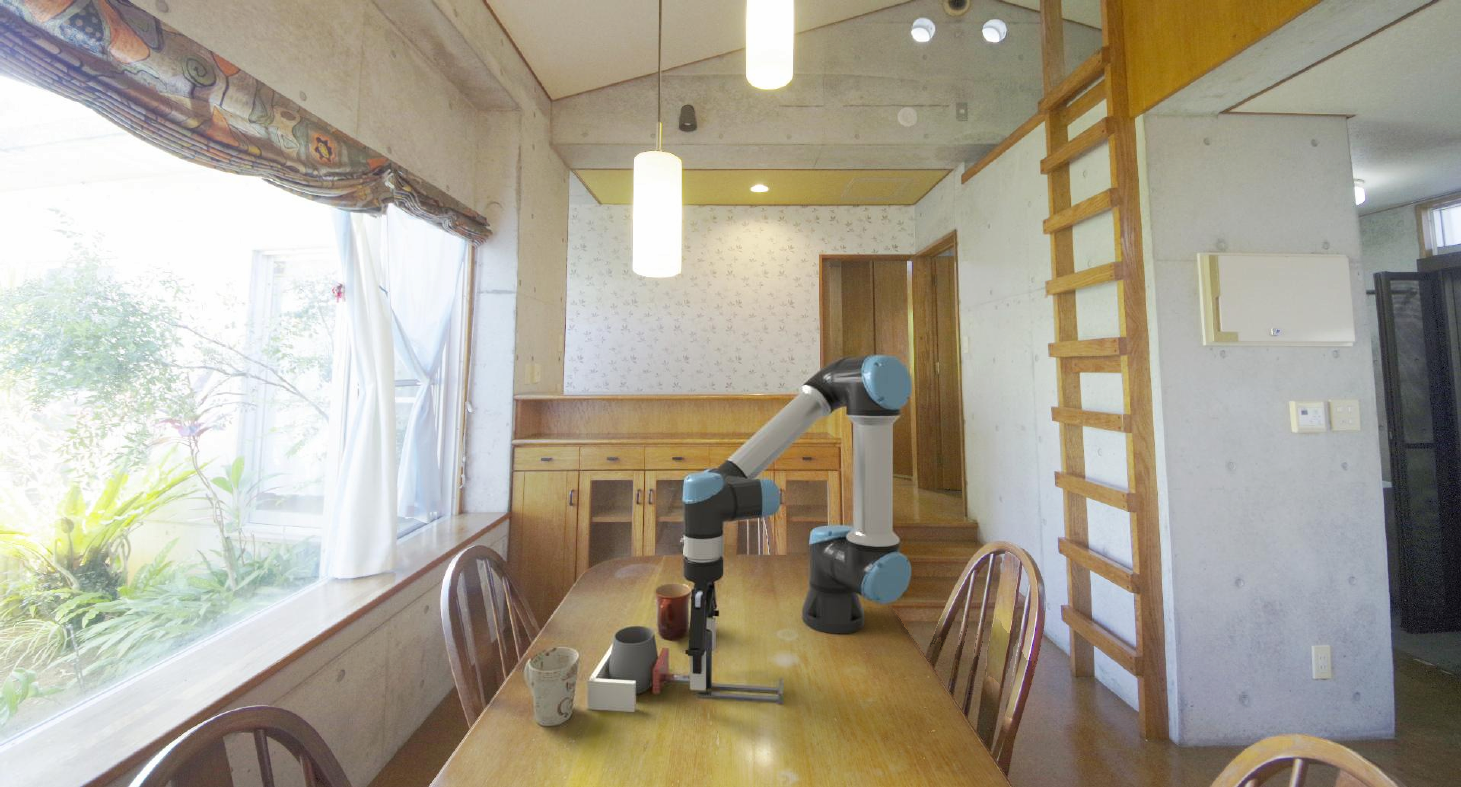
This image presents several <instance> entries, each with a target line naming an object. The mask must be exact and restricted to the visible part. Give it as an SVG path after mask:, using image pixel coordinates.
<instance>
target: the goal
mask: <svg viewBox="0 0 1461 787" xmlns="http://www.w3.org/2000/svg"><path fill="white" fill-rule="evenodd" d="M612 645H613V643H612V644H610V647H609V648H608V650H607V652H605V654H604V656H603V658H602V659H601V661H600V662H599V663H598V665H597V666H596V668H595V669H594V670H593V672H592V674H591V675H590V677H589V679H588V680H587V709H588V710H597V711H614V712H626V713H627V712H628V713H635V711H636V710H637V694H636V681H631V680H615V679H612V678H611V676H610V672H609V663H610V657H611V651H612Z"/></svg>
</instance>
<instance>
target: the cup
mask: <svg viewBox="0 0 1461 787" xmlns="http://www.w3.org/2000/svg"><path fill="white" fill-rule="evenodd" d="M612 644H613V645H612ZM612 644H611V645H612V651H611V657H610V663H609V672H610V676H611V679H615V680H631V681H636V695H639V694H642V693H644V692H645V691H647V690H648V689H649V688H650V687H651V686H652V685H653V668H654V666H655V663H656V661H657V659H658V657H659V654H658V648H657V642H656V635H655V632H654V630H653V629H652V628H650V627H647V626H642V625H631V626H627V627H624V628H621V629H619V630H618V631H616V632H615V633H614V636H613V640H612Z"/></svg>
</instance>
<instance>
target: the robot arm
mask: <svg viewBox="0 0 1461 787" xmlns="http://www.w3.org/2000/svg"><path fill="white" fill-rule="evenodd" d="M912 383H913V382H912V379H911V374H910V372H909V370H908V368H907V367H906V365H904V364H903V362H902V361H901V360H900V359H898V358H896V356H892V355H884V354H873V355H872V354H871V355H866V356H865V355H864V356H854V357H842V358H839V359H836V360H833V361H832V362H829V364H827V365H825V366H824V367H822V368H821V369H820V370H818V371H817V372H816V373H815V374H813V375H812V376H811V377H810V378H809V379H807V381H806V382H804V383H803V384H802V385H801V386H800V387H799V389H798V394H797V395H796V396H795V397H793V399H792V400H791V401H790V402H789V403H788V404H786V406H784V407H783V408H782V409H781V410H780V411H779V412H778V413H776V414H775V415H774V416H773V417H772V418H771V419H770V420H769V421H768V422H766V423H765V424H764V425H763V426H762V427H761V428H760V429H759V430H758V431H757V432H756V433H754V434H753V435H752V436H751V437H750V438H749V439H748V440H747V441H745V443H744V444H742V445H741V446H740V447H739V448H738V449H736V451H735V452H734V453H732V455H730V456H729V457H728V458H727V459H726V460H725V461H723V462H722V464H720V465H719V466H718V467H716V468H715V467H713V468H708V469H705V470H703V472H701V471H700V472H693V473H689V474H688V475H687V476H685V478H684V480H683V487H682V489H683V490H682V499H681V501H682V512H683V514H682V516H683V519H682V520H683V531H682V532H683V537H681V538H680V543H681V544H683V556H684V558H683V562H682V564H683V565H682V566H683V571H682V572H683V577H684V579H685V580H686V581H688V582H692V583H693V588H692V593H691V596H690V614H689V629H688V632H689V634H688V646H687V647H688V648H687V649H685V655H687V656H688V657H689V675H690V684H689V689H690V690H691V691H707V690H706V651H705V639H706V629H709V630H711V631H712V652H716V649H717V648H716V647H717V646H716V645H717V644H716V641H717V639H716V636H717V634H716V632H717V631H716V629H717V627H716V618H717V617H719V616H720V610H718V609H717V608H718V605H717V595H716V582H717V581H719V580H721V579H722V578H723V576H724V558H723V555H724V553H725V552H724V550H725V549H724V548H725V546H724V541H725V540H724V537H725V536H724V523H729V522H730V523H731V522H736V521H744V520H746V521H747V520H754V519H763V518H767V517H770V516H774V515H775V514H776V513H778V512H779V509H780V505H781V494H780V493H781V492H780V489H779V487H778V485H777V483H776V482H775V481H774V480H773V479H772V478H771V479H770V478H760V477H759V476H760V475H762V473H763V472H764V471H765V470H766V469H767V468H769V467H770V466H771V465H772V464H773V463H774V462H775V461H776V460H777V459H779V458H780V456H781V455H782V454H783V453H785V452H786V451H787V449H789V448H790V447H791V446H792V445H793V444H794V443H795V442H797V440H798V439H799V438H800V437H801V436H803V435H804V434H805V433H806V432H807V431H808V430H809V429H810V428H811V427H812V426H813V425H814V424H815V423H816V422H818V420H820V419H821V418H828V417H829V416H830V415H831V414H832V413H833V412H835V411H836V410H839V409H841V408H846V409H845V414H846V417H847V418H848V419H849V421H851V423H852V427H853V428H852V435H853V436H852V438H853V439H852V525H843V524H842V525H839V524H838V525H837V524H836V525H824V526H823V525H821V526H818V527H814V528H813V529H812V530H811V531H810V534H809V542H808V545H809V548H808V549H809V552H808V553H809V555H808V556H809V561H808V562H809V563H808V564H809V570H808V571H809V573H808V574H809V587H808V590H807V594H806V596H805V599H804V602H803V605H802V607H801V608H802V609H801V619H802V621H803V623H804V624H805V625H806V626H808V627H810V628H811V629H814V630H817V631H820V632H824V633H829V634H849V633H854V632H857V631H859V630H861V629H862V628H863V627H864V625H865V612H864V608H863V605H862V603H861V600H860V596H862V597H863V598H864V599H866V600H867V601H871V602H875V603H877V604H880V605H887V604H891V603H894V602H895V601H897V600H898V599H899V598H901V597H902V595H903V593H905V592H906V590H907V588H908V587H909V584H910V581H911V579H912V578H911V577H912V567H911V566H912V565H911V563H910V561H909V559H908V557H907V556H905V554H903V552H900V551H901V543H900V542H901V541H900V537H899V536H898V535H897V534H896V533H895V532H894V531H893V526H894V525H893V524H894V523H893V521H894V519H893V518H894V517H893V514H894V512H893V509H894V508H893V506H894V505H893V504H894V503H893V497H894V495H893V492H894V490H893V486H894V484H893V483H894V482H893V481H894V480H893V478H894V473H893V472H894V471H893V470H894V468H893V465H894V462H893V460H894V455H893V454H894V452H893V451H894V450H893V449H894V447H893V446H894V445H893V444H894V440H893V439H894V434H893V432H894V431H893V430H894V429H893V428H894V423H895V422H896V421H897V420H898V419H899V418H900V417H901V408H903V407H904V406H905V405H907V403H908V399H910V398H911V396H912V391H913V390H912V389H913V384H912Z"/></svg>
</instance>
